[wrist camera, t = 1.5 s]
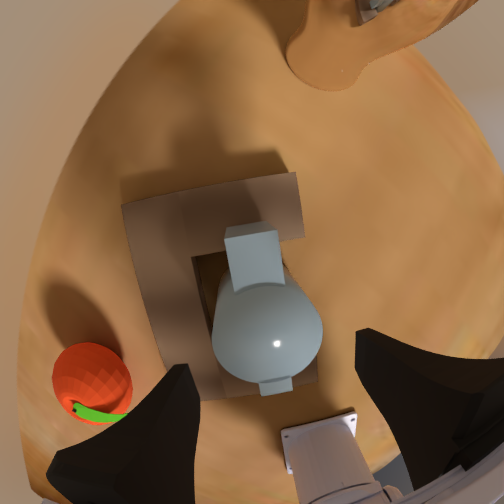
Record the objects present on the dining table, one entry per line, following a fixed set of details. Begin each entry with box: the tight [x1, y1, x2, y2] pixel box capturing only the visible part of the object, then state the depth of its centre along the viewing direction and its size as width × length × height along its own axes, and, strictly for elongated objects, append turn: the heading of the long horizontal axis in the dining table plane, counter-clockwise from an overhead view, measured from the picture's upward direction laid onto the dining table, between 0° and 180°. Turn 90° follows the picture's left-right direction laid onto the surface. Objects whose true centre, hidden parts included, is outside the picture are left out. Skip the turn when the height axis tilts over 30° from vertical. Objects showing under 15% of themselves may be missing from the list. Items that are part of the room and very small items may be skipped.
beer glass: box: [286, 0, 479, 91], centre depth 9 cm, size 7×7×15 cm
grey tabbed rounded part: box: [212, 221, 323, 396], centre depth 17 cm, size 9×6×7 cm, turn 9°
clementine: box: [52, 342, 133, 425], centre depth 17 cm, size 8×7×7 cm
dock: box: [121, 172, 318, 401], centre depth 19 cm, size 16×11×2 cm
